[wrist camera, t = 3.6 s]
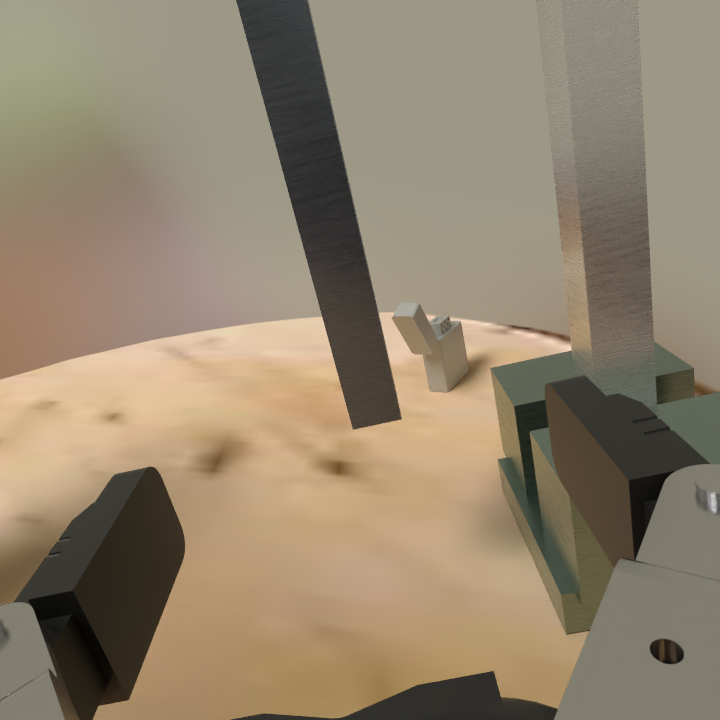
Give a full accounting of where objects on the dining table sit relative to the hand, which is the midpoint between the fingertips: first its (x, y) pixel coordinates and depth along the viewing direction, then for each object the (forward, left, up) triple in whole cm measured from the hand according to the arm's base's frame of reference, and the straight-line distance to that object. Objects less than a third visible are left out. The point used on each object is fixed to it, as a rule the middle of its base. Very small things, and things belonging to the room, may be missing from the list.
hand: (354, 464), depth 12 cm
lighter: (+27, +17, -14) cm, 35 cm away
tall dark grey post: (+11, +9, -4) cm, 15 cm away
